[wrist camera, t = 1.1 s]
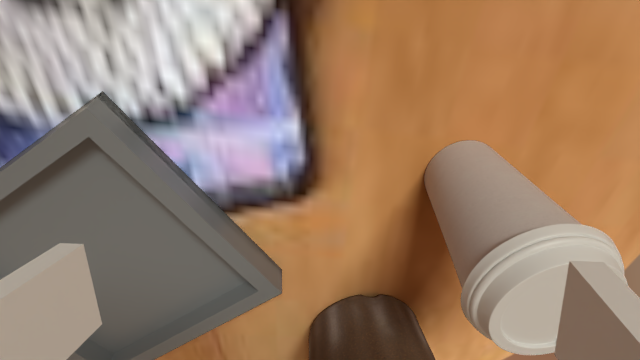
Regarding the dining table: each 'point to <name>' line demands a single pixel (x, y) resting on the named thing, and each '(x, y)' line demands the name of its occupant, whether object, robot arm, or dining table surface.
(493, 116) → the dining table surface
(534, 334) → the coffee cup
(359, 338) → the plant pot
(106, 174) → the tray
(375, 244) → the dining table surface
